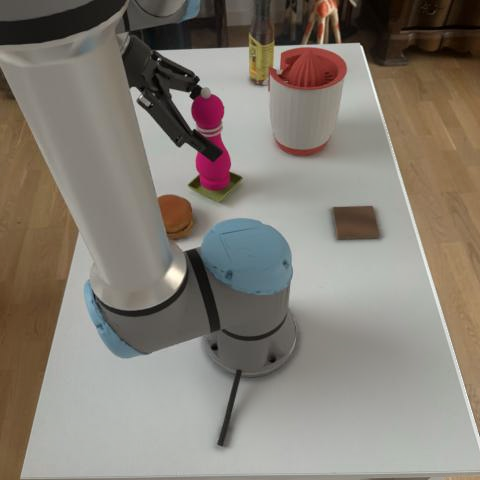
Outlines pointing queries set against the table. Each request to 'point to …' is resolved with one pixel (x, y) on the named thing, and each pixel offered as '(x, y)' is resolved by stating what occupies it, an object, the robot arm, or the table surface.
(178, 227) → the burger
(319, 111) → the citrus juicer
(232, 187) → the olive green square tray
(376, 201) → the table surface
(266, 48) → the sauce bottle
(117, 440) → the table surface
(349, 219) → the wooden coaster
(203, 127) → the pepper mill
